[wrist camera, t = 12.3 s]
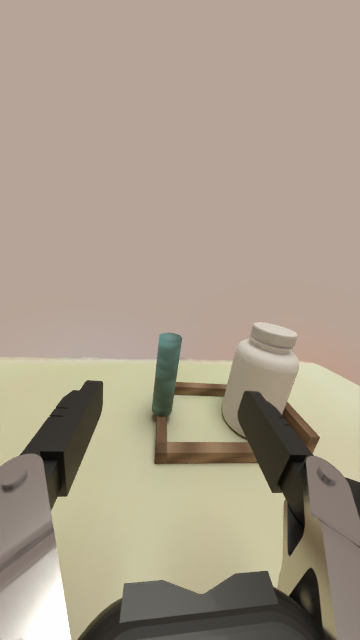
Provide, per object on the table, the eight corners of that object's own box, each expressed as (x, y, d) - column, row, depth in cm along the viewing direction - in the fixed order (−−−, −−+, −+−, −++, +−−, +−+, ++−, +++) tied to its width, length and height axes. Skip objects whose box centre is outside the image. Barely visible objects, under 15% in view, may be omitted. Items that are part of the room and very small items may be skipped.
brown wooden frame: (147, 463, 19) (158, 362, 15) (153, 388, 30) (160, 321, 27) (308, 461, 21) (349, 374, 18) (257, 393, 33) (275, 332, 29)
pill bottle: (285, 428, 26) (320, 336, 22) (254, 454, 21) (291, 344, 17) (241, 394, 32) (262, 317, 28) (210, 409, 28) (230, 320, 23)
